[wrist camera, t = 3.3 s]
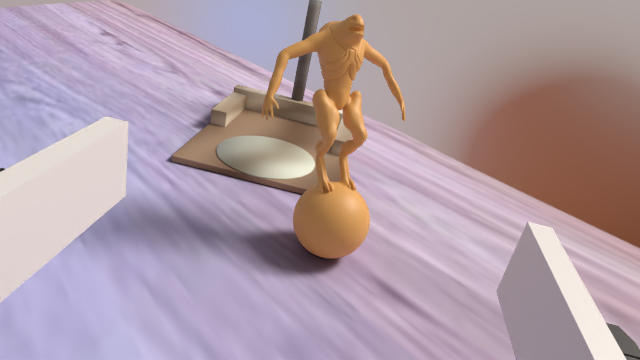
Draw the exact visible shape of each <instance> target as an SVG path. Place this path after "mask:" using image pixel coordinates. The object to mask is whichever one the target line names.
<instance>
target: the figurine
mask: <svg viewBox="0 0 640 360" xmlns="http://www.w3.org/2000/svg"><path fill="white" fill-rule="evenodd" d="M363 34H364V22H363V19H362V17H361V16H360V15H352V16H350V17H348V18H347V19H346V20H344V21H333V22H329V23H327V24H325V25H324V26H323V27H322V28H321V29H320V30H319V32H318V33H315V34H312V35H310V36H309V37H308V38H306V39H305V40H303V41H300V42H297V43H295V44H293V45H291V46H289V47H287V48H285V49H283V50H282V51H281V52H280V53H279V55H278V57H277V60H276V66H275V69H274V72H273V75H272V78H271V80H270V83H269V88H268V91H267V93H266V96H265V98H264V102H263V108H262V118H264V112H265V111H266V113H265V114H266V119H267V120H268V111H270V113H271V117H272V119H273V105H275V106H276V107H277V109H279V107H278V104H277V102H276V101H275V100H274V98H273V96H274V95H275V93H276V91H277V90H278V88H279V85H280V83H281V80H282V76H283V72H284V70H285V68H286V65H287V62H288V59H292V58H296V57H299V56H302V55H305V54H308V53H311V52H317V53H318V57H319V61H320V66H321V69H322V71H321V72H322V76H323V79H324V88H325V91H324V90H321V89H319V90H317V91H316V92H315V93H314V95H313V106H314V109H315V113H316V121H317V126H318V129H319V131H320V134H321V136H322V137H323V139H324V140H320V141H318V142H317V143H316V145H315V151H316V169H317V178H318V184H316V185H314V186H312V187H311V188H309V189H308V190H307V191H306V192H304V194H303V195H302V196H301V197H300V199H299V200H298V202H297V204H296V206H295V209H294V214H293V226H294V230H295V233H296V236H297V238H298V240H299V241H300V243H301V244H302V245H303V246H304V247H305V248H306V249H307V250H308V251H310V252H311V253H313V254H315V255H317V256H319V257H323V258H340V257H343V256H346V255H348V254H350V253H352V252H353V251H355V250H356V249H357V248H358V247H359V246H360V245H361V244H362V243H363V241H364V239H365V238H366V236H367V233H368V230H369V225H370V215H369V210H368V207H367V204H366V202H365V201H364V199H363V197H362V196H361V195H360V194H359V193H358V192H357V191H356V186H355V184H354V182H353V181H352V180H351V178H350V175H349V167H348V161H347V155H348V154H351V153H353V152H354V151H355V150H356V149H357V148H358V147H360V146H361V145H362V144H363V143H364V141H365V140H366V139H367V131H366V129H365V126H364V121H363V117H362V112H361V98H362V97H361V94H360V92H359V91H354V92H353V93H352V94H351V95H350V90H351V85H352V81H353V80H354V78H355V76H356V72H357V71H358V70H359V69H360V67H361V65H362V62H363V57H364V58H366V59H367V60H369V61H370V62H372V63H374V64H375V65H377V66H379V67H381V68H382V70H383V74H384V77H385V79H386V81H387V83H388V86H389V88H390V90H391V92H392V94H393V95H394V96H395V98H396V99H397V101H398V103H399V104H400V107H401V111H402V119H403V120H404V121H405V106H404V101H403V98H402V95H401V92H400V88H399V86H398V85H397V83H396V81H395V79H394V78H393V75H392V72H391V68H390V66H389V64H388V62H387V60H386V59H385V58H384V57H383V56H382V55H381V54H380V53H379V52H377V51H376V50H374V49H373V48H372V47H371V46H370V45H369V44H368V43H367V42H366V41H365V40H364V39H363ZM341 109H343V123H344V126H345V127H346V128H347V129H348V130H350V132H351V134H352V137H353V140H347V141H345V142H344V143H343V144H342V145H341V151H340V153H339V168H340V180H339V181H338V182H332V181H331V182H330V181H329V179H328V176H327V172H326V166H325V160H324V154H326V153H327V152H328V150H329V149H330V147H331V146H332V144H333V142H334V140H335V138H336V135H337V127H338V125H339V121H340V115H339V112H338V110H341Z"/></svg>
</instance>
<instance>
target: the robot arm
mask: <svg viewBox="0 0 640 360" xmlns="http://www.w3.org/2000/svg"><path fill="white" fill-rule="evenodd" d="M127 146H128V122H126V121H122V120H118V119H114V118H110V117H104V118H102V119H100V120H98V121H96V122H95V123H93V124H91V125H89V126H87V127H85V128H83V129H81V130H79V131H77V132H76V133H74V134H72V135H70V136H68V137H66V138H64V139H62V140H60V141H58V142H57V143H55V144H53V145H51V146H49V147H47V148H45V149H43V150H41V151H39V152H38V153H36V154H34V155H32V156H30V157H28V158H26V159H24V160H22V161H20V162H19V163H17V164H15V165H13V166H11V167H9V168H7V169H4V168H1V169H0V302H1V301H3V300H4V299H5V298H6V297H7V296H8V295H10V294H11V293H12V292H13V291H14V290H15V289H17V288H18V287H19V286H20V285H21V284H22V283H24V282H25V281H26V280H27V279H28V278H30V277H31V276H32V275H33V274H34V273H35V272H37V271H38V270H39V269H40V268H41V267H42V266H44V265H45V264H46V263H47V262H48V261H50V260H51V259H52V258H53V257H54V256H55V255H57V254H58V253H59V252H60V251H61V250H62V249H64V248H65V247H66V246H67V245H68V244H69V243H71V242H72V241H73V240H74V239H75V238H77V237H78V236H79V235H80V234H81V233H82V232H84V231H85V230H86V229H87V228H88V227H89V226H91V225H92V224H93V223H94V222H95V221H97V220H98V219H99V218H100V217H101V216H102V215H104V214H105V213H106V212H107V211H108V210H109V209H111V208H112V207H113V206H114V205H115V204H116V203H118V202H119V201H120V200H121V199H122V198H124V197H125V196H126V176H127ZM496 292H497V295H498V299H499V302H500V305H501V309H502V312H503V316H504V319H505V323H506V326H507V330H508V333H509V337H510V340H511V344H512V347H513V350H514V354H515V357H516V360H640V350H639V348H638V346H637V345H636V343H635V342H634V341H633V340H632V339H631V338H630V337H629V336H628V335H627V334H626V333H625V332H624V331H623V330H622V329H621V328H620V327H619V326H616V325H612V324H608V323H605V321H604V319H603V317H602V315H601V314H600V312H599V310H598V308H597V307H596V305H595V303H594V301H593V300H592V298H591V296H590V294H589V292H588V291H587V289H586V287H585V285H584V284H583V282H582V280H581V278H580V277H579V275H578V273H577V271H576V270H575V268H574V266H573V264H572V262H571V261H570V259H569V257H568V255H567V254H566V252H565V250H564V248H563V247H562V245H561V243H560V241H559V239H558V238H557V236H556V234H555V232H554V231H553V229H552V228H550V227H546V226H542V225H538V224H534V223H530V222H527V224H526V226H525V229H524V231H523V233H522V235H521V238H520V240H519V242H518V244H517V246H516V249H515V251H514V253H513V255H512V258H511V260H510V262H509V264H508V267H507V269H506V271H505V273H504V275H503V278H502V280H501V282H500V284H499V287H498V289H497V291H496Z"/></svg>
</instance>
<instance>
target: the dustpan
mask: <svg viewBox="0 0 640 360" xmlns="http://www.w3.org/2000/svg"><path fill="white" fill-rule="evenodd" d="M321 3H322V1H320V0H309V6H308V11H307V17H306V22H305V27H304V33H303V38H302V41H303V40H305V39H306V38H308V37H309V36H310V35H312V34H315V33H316V29H317V23H318V19H319V14H320V8H321ZM311 55H312V52H311V53H308V54H305V55H302V56H299V60H298V66H297V71H296V77H295V82H294V88H293V93H292V98H290V97H286V96H282V95H278V94H275V95H274V96H273V98H274V100H275V101H276V102H277V104H278V107H279V109H277V107H276V106H275V105H273V119H272V117H271V113H270V111H268V120H267V119H266V114H265V113H266V111H265V112H264V118H262V108H263V102H264V98H265V96H266V93H267V92H265V91H261V90H257V89H253V88H249V87H245V86H240V85H237V86H236V87H234V92H233V93H232V94H230V95H229V96H228V97H227V98H225V99H224V100H223V101H222V102H220V103H219V104H218V105H216V106H215V107H214V108H213V109H212V112H211V121H210V124H208V125H207V126H206V127H205V128H204V129H203V130H201V131H200V132H199V133H198V134H197V135H196V136H194V137H193V138H192V139H191V140H190V141H189V142H187V143H186V144H185V145H184V146H183V147H182V148H180V149H179V150H178V151H177V152H176V153H174V154H173V155H172V161H173V162H177V163H181V164H185V165H189V166H193V167H197V168H201V169H205V170H209V171H213V172H217V173H221V174H224V175H228V176H232V177H236V178H240V179H244V180H248V181H252V182H256V183H260V184H264V185H268V186H272V187H276V188H280V189H284V190H288V191H292V192H296V193H300V194H304V192H306V191H307V190H308V189H309V188H311V187H312V186H314V185H316V184H318V178H317V169H316V151H315V145H316V143H317V142H318V141H320V140H324V139H323V137H322V136H321V134H320V131H319V129H318V126H317V121H316V113H315V109H314V106H313V103H311V102H306V101H303V96H304V91H305V86H306V81H307V75H308V70H309V65H310V60H311ZM338 112H339V115H340V121H339V125H338V127H337V135H336V138H335V140H334V142H333V144H332V146H331V147H330V149H329V150H328V152H327V153H326V154H324V160H325V166H326V172H327V176H328V179H329V181H330V182H331V181H332V182H338V181H339V180H340V168H339V153H340V151H341V145H342V144H343V143H344V142H345V141H347V140H351V139H352V134H351V132H350V130H348V129H347V128H346V127H345V126H344V123H343V110H338Z"/></svg>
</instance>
